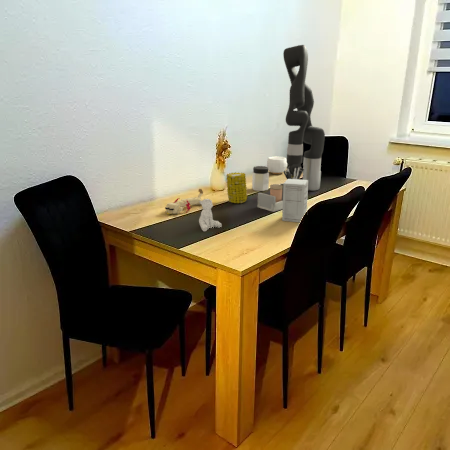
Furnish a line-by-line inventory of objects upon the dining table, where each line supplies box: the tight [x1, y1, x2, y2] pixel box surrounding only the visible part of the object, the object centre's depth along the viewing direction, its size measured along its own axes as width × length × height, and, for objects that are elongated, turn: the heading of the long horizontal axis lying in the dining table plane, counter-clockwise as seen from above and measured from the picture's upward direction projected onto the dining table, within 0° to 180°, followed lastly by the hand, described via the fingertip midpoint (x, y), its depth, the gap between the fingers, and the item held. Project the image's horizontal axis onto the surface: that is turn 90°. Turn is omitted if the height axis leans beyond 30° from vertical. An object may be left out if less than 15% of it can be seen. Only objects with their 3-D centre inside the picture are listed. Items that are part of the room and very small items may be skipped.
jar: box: [251, 165, 270, 192], centre depth 245 cm, size 9×8×12 cm
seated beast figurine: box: [198, 198, 223, 232], centre depth 186 cm, size 10×9×12 cm
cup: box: [266, 155, 288, 175], centre depth 283 cm, size 12×12×10 cm
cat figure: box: [164, 188, 205, 215], centre depth 211 cm, size 10×9×25 cm
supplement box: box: [281, 178, 309, 223], centre depth 196 cm, size 10×9×17 cm
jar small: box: [269, 183, 283, 203], centre depth 215 cm, size 6×6×9 cm
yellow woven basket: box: [226, 172, 248, 205], centre depth 222 cm, size 15×12×10 cm
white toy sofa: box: [256, 191, 283, 213], centre depth 216 cm, size 17×10×7 cm, turn 133°
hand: (292, 188), depth 223 cm, fingers closed
